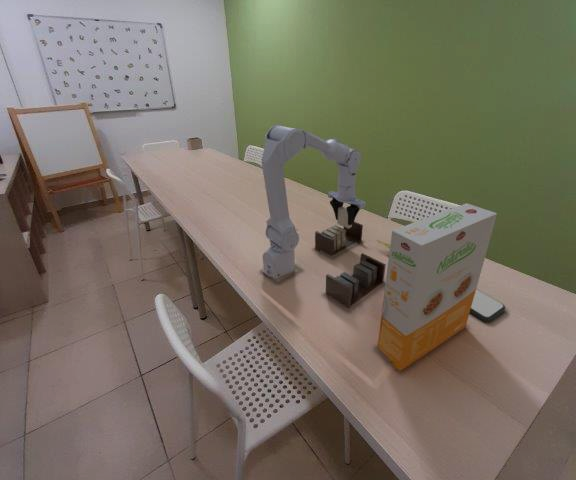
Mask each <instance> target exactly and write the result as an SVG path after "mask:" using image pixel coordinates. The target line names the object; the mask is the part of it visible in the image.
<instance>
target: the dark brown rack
mask: <svg viewBox="0 0 576 480" xmlns="http://www.w3.org/2000/svg"><path fill="white" fill-rule="evenodd" d="M363 228H364V225H363V224H361V223H359V222H357V221H354V223H353V224H352V227H350V228H346V227H344V226H342V227H340V226H338V225H336V224H335V225H331V227H328V228H326V229H323V230H322V231H321V232H320V231H318V230H316V231H315V233H314V234H315V235H314V250H315V251H317V252H323V253H325V254H326V255H329V256H330V257H333V256H335V255H337V254H339V253H341V252H342V251H345V250H347V249H348V248H350V247H351V246H353V245H355V244H360V243H362V241H363V240H362V238H363Z"/></svg>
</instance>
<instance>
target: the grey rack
mask: <svg viewBox="0 0 576 480" xmlns="http://www.w3.org/2000/svg"><path fill="white" fill-rule="evenodd" d="M359 259H360V260H359V263H355V264H354V265H353V273H352V275H351V274H349V273H347V272H345V271H343V272H341V273H340V274H339V275H337V276H335V277H334V276H332V275H331V274H329V273H327V274H326V275H325V294H326V295H327V296H328V297H331V298H332V299H333V300H335V301H337V302H338V303H339V304H341V305H342V306H343V307H346V308H347V309H350V307H352V306H353V305H355V304H356V303H358V302H359V301H360V300H362V299H363V298H364V297H366V296H367V295H368V294H370V293H371V292H372V291H374V290H375V289H377V288H378V287H379V286H381V284H383V283H384V282H385V274H386V273H385V272H386V266H387V264H386V263H383V262H381V261H380V260H377V259H375V258H373V257H372V256H369V255H367V254H365V253H363V252H362V253H360V257H359Z"/></svg>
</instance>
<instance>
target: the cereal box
mask: <svg viewBox="0 0 576 480" xmlns="http://www.w3.org/2000/svg"><path fill="white" fill-rule="evenodd" d="M497 216H498V213H497V212H494V211H492V210H488V209H486V208H482V207H479V206H477V205H473V204H470V203H467V202H465V203H463V204H461V205H457V206H455V207H452V208H449V209H447V210H444V211H441V212H439V213H436V214H433V215H430V216H427V217H425V218H423V219H420V220H417V221H414V222H411V223H409V224H406V225H403V226H400V227H398V228H395V229H392V230H391V236H390V243H389V244H390V249H389V254H388V261H387V268H386V269H387V270H386V276H385V277H386V278H385V284H384V292H383V300H382V309H381V316H380V317H381V318H380V324H379V332H378V339H377V348H378V349H379V350H380V351H381V352H382V353H383V354H385V355H386V356H387V357H388V358H389V359H390V364H391V365H392V366H393V367H394V368H395V369H396V370H397V371H398V372H402V371H403V370H404V369H406V368H407V367H408V366H410V365H411V364H413V363H415V362H416V361H418V360H419V359H421V358H422V357H424V356H425V355H426V354H429V352H431V351H432V350H434V349H435V348H437V347H439V346H440V345H441V344H443V343H444V342H446V341H447V340H448V339H450V338H451V337H453V336H454V335H456V334H458V333H459V332H461V331H462V330H463V329H465V328H466V327H467V323H468V320H469V316H470V314H471V313H470V309H471V306H472V302H473V298H474V295H475V291H476V289H477V287H478V284H479V280H480V278H481V273H482V270H483V266H484V262H485V258H486V255H487V252H488V248H489V245H490V241H491V239H492V234H493V231H494V228H495V223H496V220H497Z"/></svg>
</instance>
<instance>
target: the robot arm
mask: <svg viewBox="0 0 576 480" xmlns="http://www.w3.org/2000/svg"><path fill="white" fill-rule="evenodd" d="M264 143H265V144H264V148H263V152H262V155H261V167H262V175H263V180H264V186H265V191H266V192H265V193H266V198H267V205H268V206H267V207H268V211H269V218H268V219H267V220H266V227H265V236H266V238H267V239H268V240H269V244H270V245H269V248H268V249H267V250H266V251H264V252H263V253H262V263H263V265H262V267H263V269H262V273H264V275H266V276H267V277H269V278H272V279H274V280H278V279H279V278H282V277H284V276H286V275H290V274H291V273H293V272H294V271H295V269H296V262H295V260H296V259H295V255H296V254H295V249H296V248H297V246H298V244H299V243H300V242H299V241H300V236H299V233H298V232H297V231H296V226H295V224H294V223H293V221H292V220H291V218H290V211H289V204H288V197H287V189H286V179H285V172H284V165H286V163H288V162H289V161H290V160H292V159H293V158H294V157H295V156H296V155H298V154H299V153H300V152H301V151H302V150H303V149H307V147H308V148H311V149H314V150H316V151H319V152H321V155H322V157H323V158H324V159H327V160H329V161H332V162H334V163H335V164H336V165H338V166H337V167H338V171H337V191H334V190H330V191H328V192H327V198H328V199H331V198H332V199H331V200H329V204H330V205H331V207H332V210H333V214H334V218H335V220H336V221H338V208H339V207H341V206H342V207H344V204H348V206H346V207H345V208H346V209H347V213H348V225H352V224H353V223H354V222H355V221H356V217H357V216H358V213H359V212H360V210H364V209H365V208H366V204H367V203H366V201H363V200H362V199H360V198H358V197H357V196H356V182H357V173H358V171H359V166H360V164H361V162H362V157H361V153H360V152H359V151H358V150H357V149H354V148H350V147H349V145H348V144H342V143H340V140H339V139H337V138H332V139H327V140H325V139H322V138H321V137H319V136H317V135H315V134H313V133H311V132H310V131H308V130H303V129H300V128H298V127H297V128H296V127H295V128H293V127H288V126H284V125H280V124H275V125H272V126H271V127H270V128H269V130H268V131H267V132H266V133H265V135H264Z"/></svg>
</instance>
